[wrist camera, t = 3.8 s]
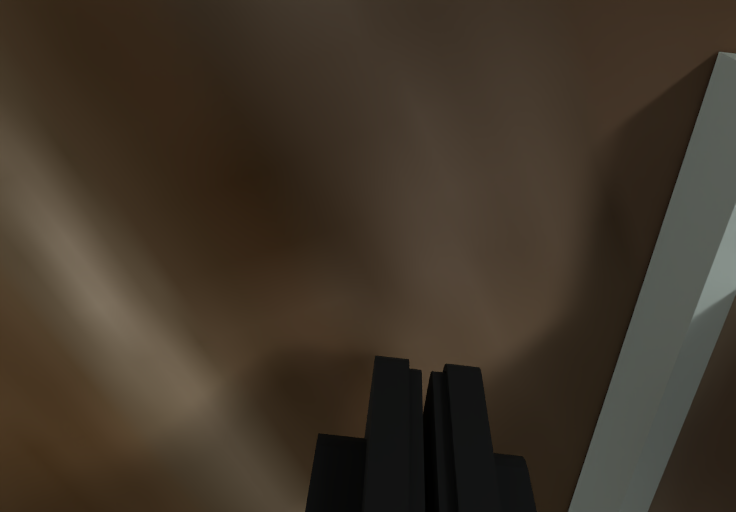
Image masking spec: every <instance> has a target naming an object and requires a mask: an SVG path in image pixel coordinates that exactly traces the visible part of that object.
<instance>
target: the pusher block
mask: <svg viewBox="0 0 736 512" xmlns="http://www.w3.org/2000/svg"><path fill="white" fill-rule="evenodd" d="M648 512H736V295H735V298H734V300H733V302H732V305H731V307H730V310H729V312H728V315H727V317H726V320H725V322H724V325H723V327H722V330H721V332H720V335H719V337H718V339H717V342H716V344H715V347H714V349H713V352H712V354H711V357H710V359H709V362H708V364H707V367H706V369H705V372H704V374H703V376H702V379H701V381H700V384H699V386H698V389H697V391H696V394H695V396H694V399H693V401H692V404H691V406H690V408H689V411H688V413H687V416H686V418H685V421H684V423H683V426H682V428H681V431H680V433H679V436H678V438H677V441H676V443H675V445H674V448H673V450H672V453H671V455H670V458H669V460H668V463H667V465H666V468H665V470H664V473H663V475H662V478H661V480H660V482H659V485H658V487H657V490H656V492H655V495H654V497H653V500H652V502H651V505H650V507H649V510H648Z"/></svg>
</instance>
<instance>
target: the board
mask: <svg viewBox="0 0 736 512" xmlns="http://www.w3.org/2000/svg"><path fill="white" fill-rule="evenodd" d="M735 295H736V54H735V53H726V52H719V54H718V57H717V60H716V63H715V66H714V69H713V72H712V75H711V78H710V81H709V84H708V87H707V90H706V93H705V96H704V99H703V102H702V105H701V108H700V111H699V114H698V117H697V121H696V124H695V127H694V130H693V133H692V136H691V139H690V142H689V145H688V148H687V151H686V154H685V157H684V160H683V163H682V166H681V169H680V172H679V175H678V178H677V181H676V184H675V187H674V191H673V194H672V197H671V200H670V203H669V206H668V209H667V212H666V215H665V218H664V221H663V224H662V227H661V230H660V233H659V236H658V239H657V242H656V245H655V248H654V251H653V254H652V258H651V261H650V264H649V267H648V270H647V273H646V276H645V279H644V282H643V285H642V288H641V291H640V294H639V297H638V300H637V303H636V306H635V309H634V312H633V315H632V318H631V321H630V324H629V328H628V331H627V334H626V337H625V340H624V343H623V346H622V349H621V352H620V355H619V358H618V361H617V364H616V367H615V370H614V373H613V376H612V379H611V382H610V385H609V388H608V391H607V394H606V398H605V401H604V404H603V407H602V410H601V413H600V416H599V419H598V422H597V425H596V428H595V431H594V434H593V437H592V440H591V443H590V446H589V449H588V452H587V455H586V458H585V461H584V464H583V468H582V471H581V474H580V477H579V480H578V483H577V486H576V489H575V492H574V495H573V498H572V501H571V504H570V507H569V510H568V512H648V510H649V507H650V505H651V502H652V500H653V497H654V495H655V492H656V490H657V487H658V485H659V482H660V480H661V478H662V475H663V473H664V470H665V468H666V465H667V463H668V460H669V458H670V455H671V453H672V450H673V448H674V445H675V443H676V441H677V438H678V436H679V433H680V431H681V428H682V426H683V423H684V421H685V418H686V416H687V413H688V411H689V408H690V406H691V404H692V401H693V399H694V396H695V394H696V391H697V389H698V386H699V384H700V381H701V379H702V376H703V374H704V372H705V369H706V367H707V364H708V362H709V359H710V357H711V354H712V352H713V349H714V347H715V344H716V342H717V339H718V337H719V335H720V332H721V330H722V327H723V325H724V322H725V320H726V317H727V315H728V312H729V310H730V307H731V305H732V302H733V300H734V298H735Z"/></svg>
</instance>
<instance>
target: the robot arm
mask: <svg viewBox="0 0 736 512" xmlns="http://www.w3.org/2000/svg"><path fill="white" fill-rule="evenodd" d="M305 512H537V511H536V506H535V502H534V497H533V492H532V487H531V482H530V477H529V472H528V468H527V465H526V461H525V459H524V458H523V457H522V456H514V455H505V454H496V453H493V447H492V440H491V434H490V427H489V421H488V414H487V407H486V401H485V394H484V387H483V381H482V374H481V370H480V368H479V367H471V366H462V365H453V364H445V366H444V368H443V372H434V371H432V372H431V374H430V378H429V384H428V389H427V395H426V400H425V406H424V412H423V405H422V372H421V370H417V369H409V359H400V358H392V357H383V356H375V361H374V369H373V376H372V384H371V392H370V400H369V407H368V415H367V423H366V430H365V438H355V437H346V436H337V435H328V434H320V433H319V434H318V439H317V444H316V450H315V456H314V462H313V468H312V474H311V480H310V486H309V492H308V498H307V504H306V510H305Z"/></svg>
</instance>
